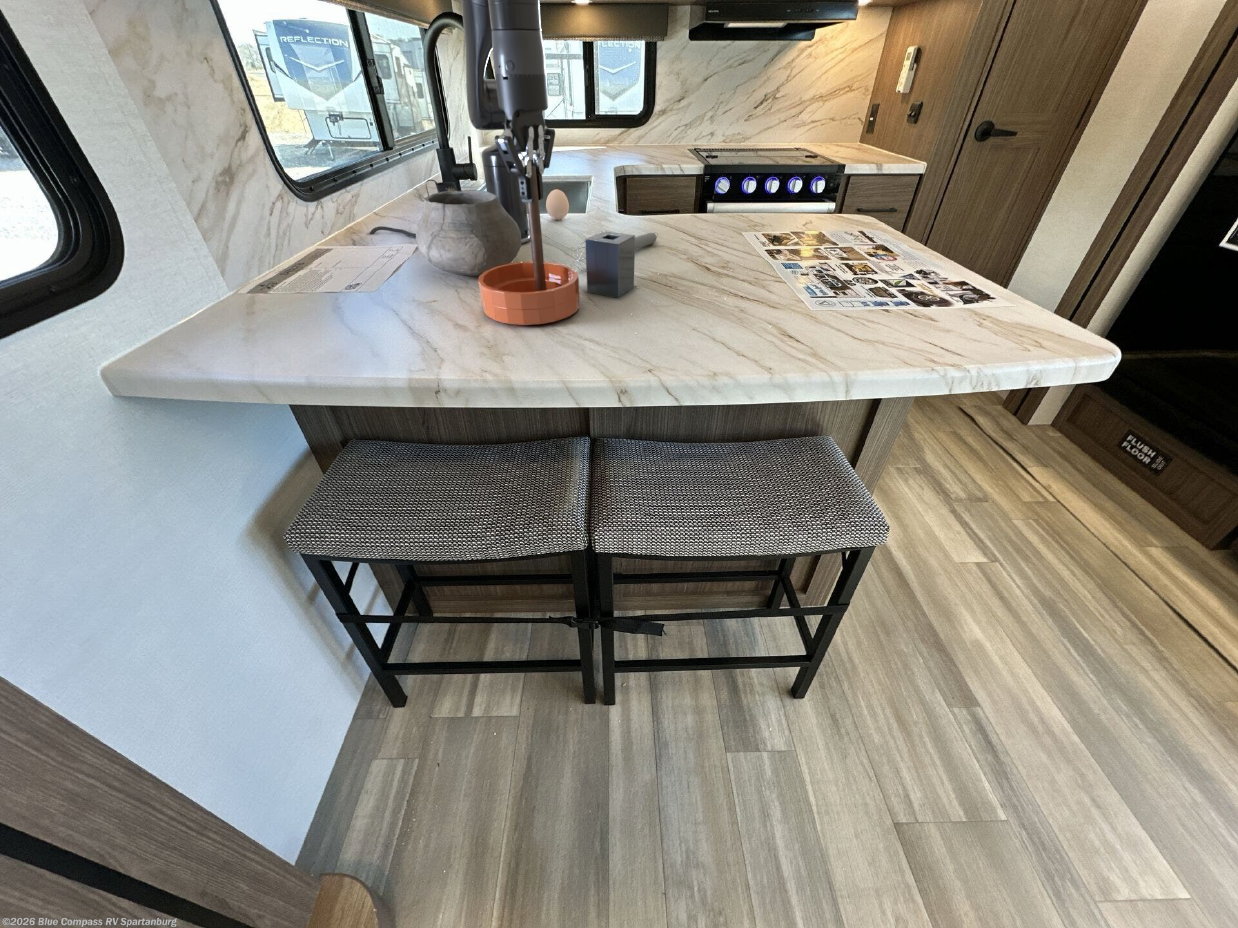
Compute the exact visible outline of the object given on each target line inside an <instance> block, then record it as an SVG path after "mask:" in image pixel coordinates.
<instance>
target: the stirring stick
mask: <svg viewBox="0 0 1238 928" xmlns="http://www.w3.org/2000/svg"><path fill="white" fill-rule="evenodd" d="M524 168H525V166H524ZM531 170H532V175H531V177H532V178H533V189H534V202H532V203H526V206H527V215H528V226H529V228H530V233H529V234H530V247H531V257H532V261H533V268H534V278H535V289H536V290H537V291H544V290H546V280H545V268H544V262H545V258H544V247H543V246H544V245H543V234H542V221H541V211H540V200H539V198H538V186H537V174H536V167H535V166H531Z"/></svg>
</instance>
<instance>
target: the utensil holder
mask: <svg viewBox="0 0 1238 928" xmlns="http://www.w3.org/2000/svg"><path fill="white" fill-rule="evenodd" d="M635 237H636V235H635V234H628V233H623V232H622V233H620V232H613V231H607V230H602V231H600V232H598V233H596V234H594V235H592V236H589V237H587V238H585V240H584V241H585V242H584V243H585V258H586V259H585V264H586V265H585V266H586V267H585V271H587V272H586V292H587V293H590V294H594V295H601V296H605V297H612V298H617V299H619V298H620V297H622V296H623V295H625V294H626V293H628V292H629V291H630V290H632V289H634V287H635V250H636V249H635Z"/></svg>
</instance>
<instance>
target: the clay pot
mask: <svg viewBox="0 0 1238 928" xmlns="http://www.w3.org/2000/svg"><path fill="white" fill-rule="evenodd" d="M417 223H418V224H417V227H416V231H415V234H416V237H415V243H416V245H417V249H418V251H419V252H420V254H421V255H422V256H423V258H424V259H426V260H427V261H428V262H429V263H430V264H432V265H433V266H434V267H436V268H438V269H440V270H442V271H444V272H447V273H450V274H453V275H458V276H468V277H471V276H472V277H473V276H474V277H476V276H478V277H479V276H480V275H481V274H483V273H484V272H485V271H487V270H489V269H492V268H494V267H497V266H501V265H505V264H510V263H513V261H514V260H515V259H516V258H517V256H518V254H519V252H520V249H521V247H522V244H521V233H520V229H519V227H518V225H517V223H516V222H515V221H514V219H513V218H512V217H511V216H510V215H509V214H508V213H507V212H506V211H505V209H504V208H503V207H502V205H501V203H500V201H499V199H498V197H497V196H496V195H494V194H492V193H489V192H487V190H486V191H485V190H479V189H464V190H457V191H444V192H439V193H438V192H435V193H432V194H429V196H428V195H427V196H426V197H425V199H424V203H423V210H422V213H421V217H420V219H419V220H418V222H417Z"/></svg>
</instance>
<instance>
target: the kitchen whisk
mask: <svg viewBox="0 0 1238 928" xmlns="http://www.w3.org/2000/svg"><path fill="white" fill-rule="evenodd" d="M658 236H659V235H658V233H657V232H656V231H655V232H648V233H647V232H646V233H644V234H641V235H637V236H635V250H638V249H641V248H643V247H644V248H645V247H647V246H650V245H653V244H655V242H656V241H657V238H658ZM584 243H585V240H584V241H582V242H581V243H579V245H578V246H577V248H576V249H574V251H573V252H572V255H573V258H574V259H575V260H574V261H573V262H572V263H577V268H578V270H579V271H581V272H583V271H584V272H586V273H587V270H586V269H585V268H584V267H582V265H585V266H586V263H584V262H582V261H584V260H586V257H583V258H581V257H582V255H583V254H584V252H586V246H582V247H580V246H581V245H582V244H584ZM581 249H584V250H583V251H582V252H581V254H580V256H579V253H578V252H579V250H581ZM575 252H576V256H577V257H576V256H575V254H574V253H575ZM579 266H580V268H581V269H580V268H579Z"/></svg>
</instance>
